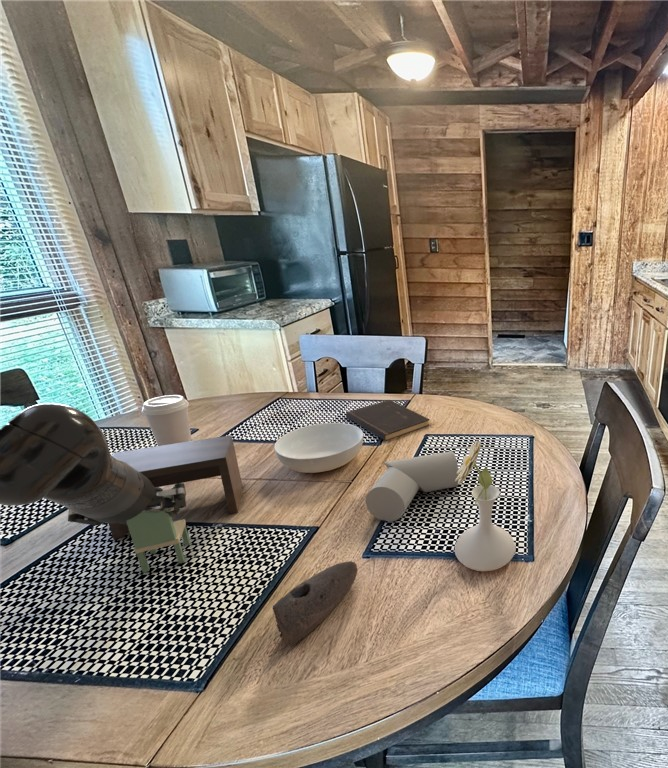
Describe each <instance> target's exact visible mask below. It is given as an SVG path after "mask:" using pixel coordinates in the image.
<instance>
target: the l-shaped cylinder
mask: <svg viewBox="0 0 668 768" xmlns="http://www.w3.org/2000/svg"><path fill="white" fill-rule="evenodd" d="M382 463H383V465H384V466H385V467H386V470H385V471H384V472H383V474H382V475H381V477H379V479H378V480H377V481H376V483H375V484H374V485H373V486H372V487H371V488H370V490H368V493H367V494H366V496H365V506H366V509H367V510H368V512H369V513H370V515H372V517H374V518H375V519H377V520H379V521H386V522H396V521H398V520H399V519H401V518H402V517H403V515H404V514H405V512H406V511H407V509H408V507H409V505H410V504H411V502H412V501H413V499H414V498H415V496H416V495H417V493H418V491H421V492H423V493H429V492H436V491H441V490H445V489H450V488H457V487H458V486H459V484H458V480H457V481H455V480H456V478H457V477H458V475H459V474H460V473H459V474H457V471H458V469H459V465H458V460H457V457H456V454H455V452H454V451H452V450H451V451H444V452H438V453H433V454H425V455H420V456H419V455H418V456H413V457H408V458H400V459H394V460H389V461H383V462H382Z"/></svg>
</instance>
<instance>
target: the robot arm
mask: <svg viewBox="0 0 668 768" xmlns="http://www.w3.org/2000/svg"><path fill="white" fill-rule="evenodd" d="M7 422H8V423H6V424H5V425H3V426H2V427H1V428H0V505H1V506H14V507H15V506H25V505H26V506H27V505H31V504H34V503H36V502H39V501H41V500H42V499H46V500H48V501H50V502H53V503H55V504H58V505H61V506H62V507H63V506H64V507H65V508H66V509H68V514H67V522H69V523H75V524H82V525H89V526H101V525H103V524H108V523H122V524H125V525H127V520H129V519H132V518H133V517H135V516H137V515H138V514H141V513H144V512H145V513H158V512H161V511H165V513H167V514H170V515H171V517H172V516H176V515H177V513H178V512H180V511H181V509H183V508H186V507H187V501H186V496H187V492H186V485H185V482H184V483H178V484H174V486H172V487H170V488H171V489H163V488H162V487H154V486H153V484H152V483H151V481H150V480H149V479H148V478H147V477H146V476H144V475H143V474H141V473H140V472H139V471H137V470H136V469H134V468H133V467H131V466H130V465H128V464H127V463H125V462H123V461H120V460H118V459H116V458H114V457H113V456H112V454H111V453H110V449H109V445H108V442H107V439H106V436H105V434H104V432H103V430H102V428H100V426H99V425H98V423H97V422H96V421H95V420H94V419H93V418H92V417H90V416H89V415H88V414H86V413H85V412H83V411H82V410H80V409H78V408H76V407H73V406H70V405H68V404H62V403H55V402H45V403H37V404H34V405H32V406H28V407H27V408H25V409H23V410H22V411H20V412H19V413H17V414H16V415H15V416H14V417H12V418H11V419H10V420H9V421H7Z"/></svg>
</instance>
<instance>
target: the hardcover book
mask: <svg viewBox="0 0 668 768" xmlns="http://www.w3.org/2000/svg"><path fill="white" fill-rule="evenodd" d="M346 418H347V419H349V420H350V421H352V422H354V423H355V424H356V425H359V426H360V427H362V428H364V429H365V430H367V431H368V432H370V433H372V434H373V435H375V436H377V437H378V438H380V439H381V440H383V441H385V442H387V441H389V440H392V439H395V438H398V437H401V436H404V435H406V434H409V433H412V432H415V431H418V430H420V429H423V428H426V427H429V426H430V424H429V421H431V419H430V418H428V417H426V416H424V415H422V414H420V413H417V412H416V411H413V410H411V409H409V408H407V407H406V406H403V405H401V404H399V403H397V402H395V401H393V400H391V399H387V400H384V401H380V402H377V403H374V404H370V405H366V406H363V407H360V408H359V407H358V408H356V409H352V410H349V411H347V412H346Z"/></svg>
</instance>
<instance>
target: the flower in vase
mask: <svg viewBox="0 0 668 768" xmlns="http://www.w3.org/2000/svg"><path fill="white" fill-rule="evenodd" d="M481 445H482V442H480V441H479V440H476V441H475V443H471V445H470V446H469V450H468V455H464V456H463V458H462V462H463V463H461V465H460V467H458V471H457V474H459V475H458V477H457V478H456V480H455V481H457V480H458V485H460V484H463V482H464V481H465V480H466V478H467V477H468V476H469V475H470V474H471V472H472V469H473V468H475V469H476V471H477V473H478V474H479V475H478V479H477V480H478V483H479V484H480V485H476V486H475V487H473V488H472V490H471V496H472V498H474V499H475V501H474V505H475V506H478V515H479V516H478V517H479V519H478V524H476V525H474V526H470V527H469V528H467V529H466V530H465V531H463V532H462V533H461V534H460V535H459V536H458V538H457V540H456V542H455V544H454V554H455V558H457V560H458V562H460V563H461V564H462V565H463V566H464V567H466V568H468V569H470V570H473V571H477V572H492V571H496V570H498V569H501V568H504V567H505V566H506V565H507V564H509V562H511V560H512V559H513V558H514V556H515V554H516V543H515V540H514V538H513V537H512V535H511V534H510V533H509V532H508V531H507V530H505V529H504V528H502V527H501V526H498V525H495V524H494V523H493V521H492V516H493V515H492V513H493V507H494V504H495V501H496V500H497V499H498V498H499V496H500V494H501V492H500V489H499V488H498V487H497V486H495V485H493V481H494V480H493V477H492V475H491V473H490V471H489V470H488V468H487V466H485V467H484V468H483V469H482V471H481V470H480V469H479V467H478V465H477V464H476V462H477V460H478V457H479V454H480V450H481V447H482V446H481Z"/></svg>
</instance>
